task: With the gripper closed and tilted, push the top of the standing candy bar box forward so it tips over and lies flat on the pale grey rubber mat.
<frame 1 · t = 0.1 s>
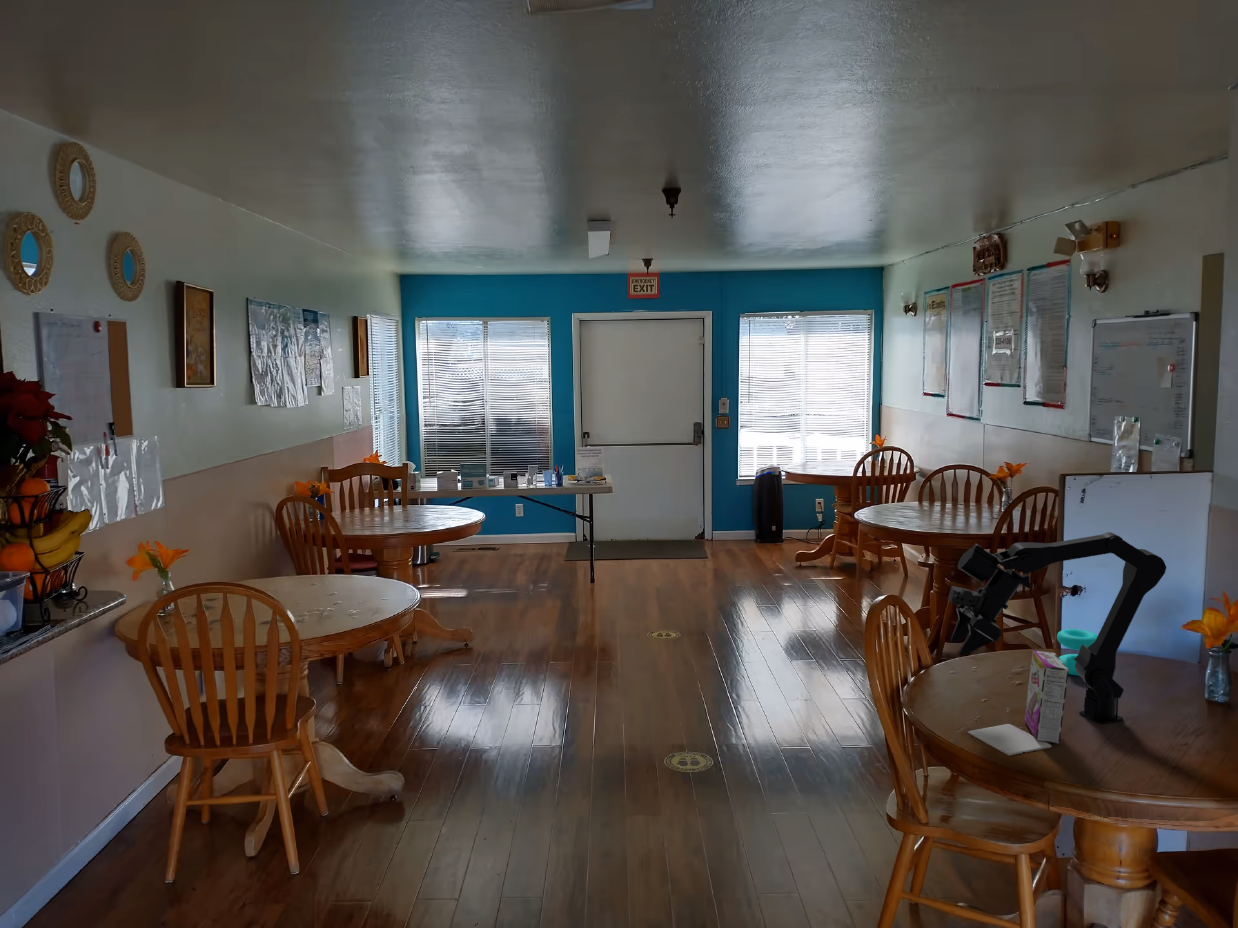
hand: (956, 648, 205), 15 cm above the table, tool tilted 35°, fingers open, 9 cm apart
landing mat: (1008, 739, 191), on the table
candy bar box: (1040, 733, 193), on the table, touching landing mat
donuts: (1077, 671, 231), on the table
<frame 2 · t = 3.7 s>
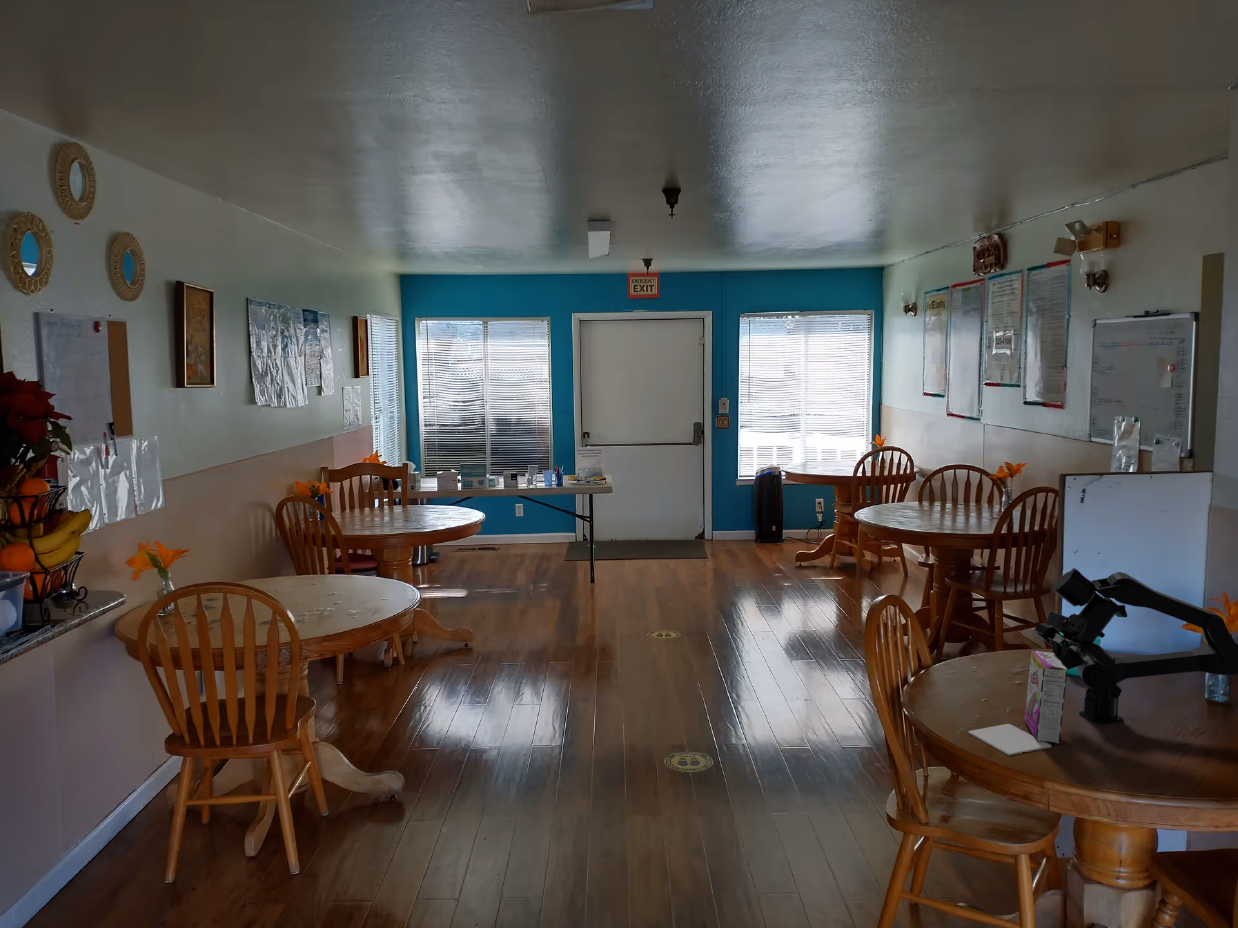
hand: (1048, 675, 198), 11 cm above the table, tool tilted 40°, fingers closed
nothing on the table moved.
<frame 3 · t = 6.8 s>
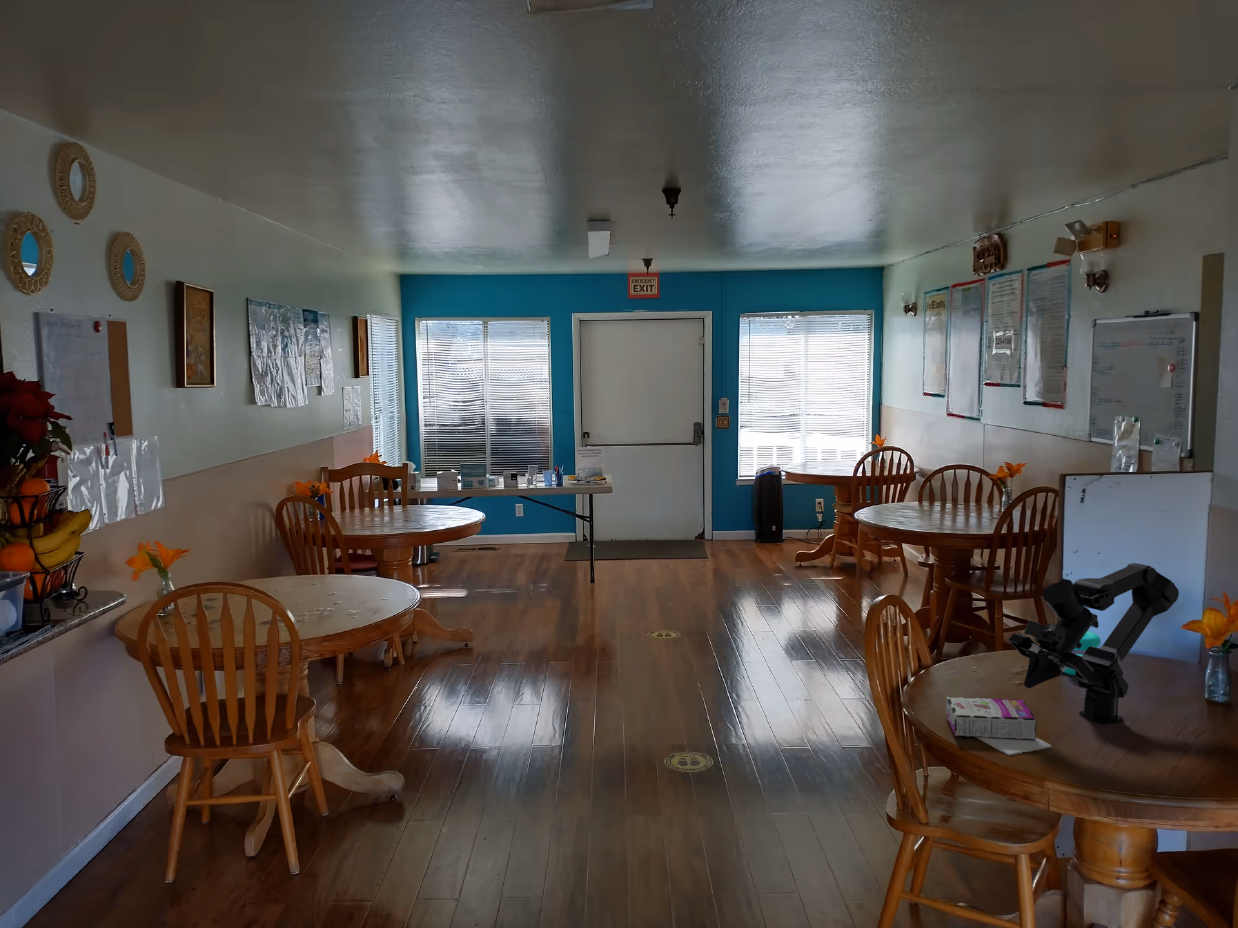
hand: (1026, 686, 191), 11 cm above the table, tool tilted 45°, fingers closed
candy bar box: (1030, 719, 194), point 3 cm above the table, touching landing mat
everything else where it was.
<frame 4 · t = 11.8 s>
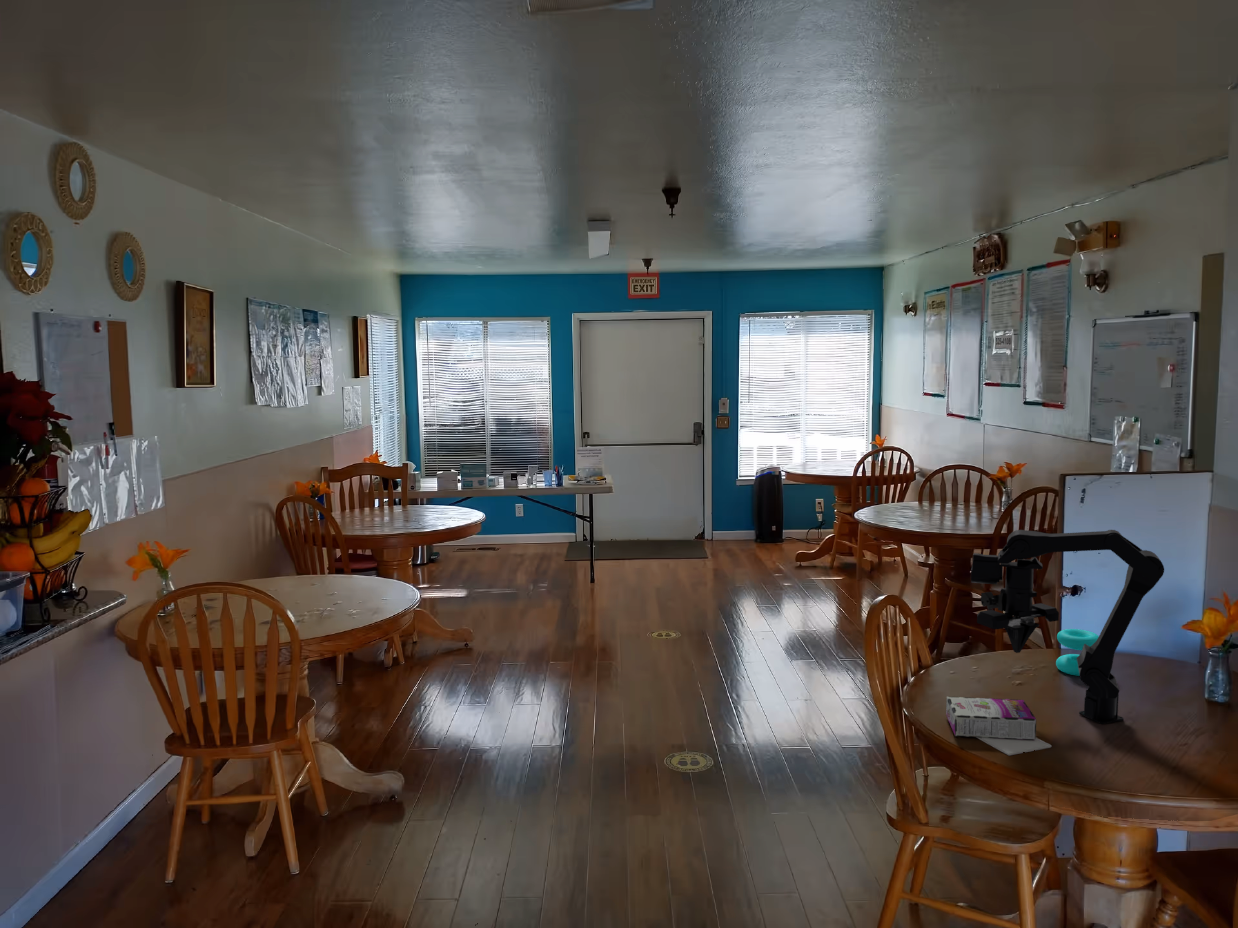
hand: (1016, 652, 207), 13 cm above the table, tool pointing down, fingers closed
nothing on the table moved.
at the end: candy bar box tilted 90°; candy bar box touching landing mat; candy bar box inside the target area (4.6 cm from its centre), point 2.8 cm above the table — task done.
